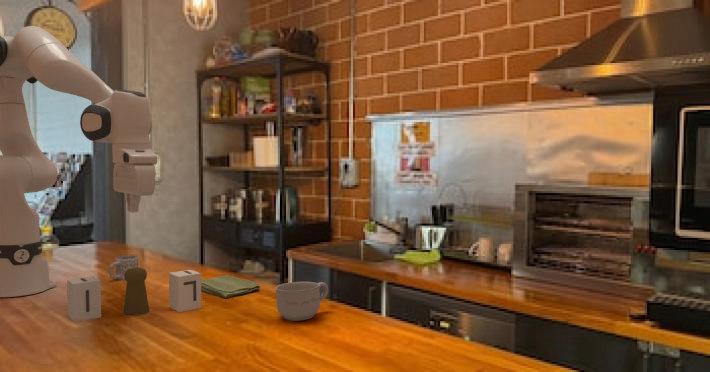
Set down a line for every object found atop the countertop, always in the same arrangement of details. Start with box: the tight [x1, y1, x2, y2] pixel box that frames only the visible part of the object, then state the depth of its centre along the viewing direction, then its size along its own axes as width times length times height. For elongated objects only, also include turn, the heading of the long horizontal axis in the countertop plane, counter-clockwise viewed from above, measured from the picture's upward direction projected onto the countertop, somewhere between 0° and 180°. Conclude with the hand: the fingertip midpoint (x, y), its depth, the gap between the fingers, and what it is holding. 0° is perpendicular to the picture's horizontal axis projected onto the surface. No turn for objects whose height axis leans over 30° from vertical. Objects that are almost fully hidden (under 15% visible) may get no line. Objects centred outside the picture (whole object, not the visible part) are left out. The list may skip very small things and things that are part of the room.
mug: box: [108, 254, 139, 281], centre depth 172 cm, size 10×7×7 cm
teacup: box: [274, 281, 329, 322], centre depth 132 cm, size 14×11×8 cm
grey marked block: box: [66, 275, 102, 323], centre depth 132 cm, size 6×6×9 cm
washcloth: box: [201, 275, 261, 299], centre depth 159 cm, size 13×18×3 cm
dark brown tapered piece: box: [123, 267, 150, 316], centre depth 136 cm, size 6×6×11 cm
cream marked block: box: [168, 269, 202, 313], centre depth 140 cm, size 6×6×9 cm
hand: (133, 211), depth 135 cm, fingers closed
